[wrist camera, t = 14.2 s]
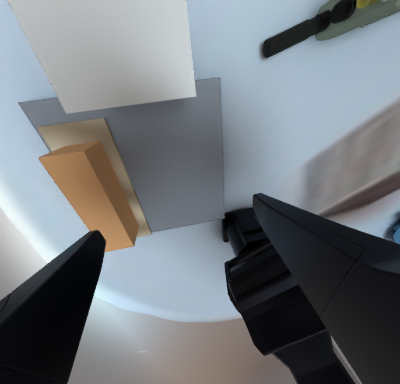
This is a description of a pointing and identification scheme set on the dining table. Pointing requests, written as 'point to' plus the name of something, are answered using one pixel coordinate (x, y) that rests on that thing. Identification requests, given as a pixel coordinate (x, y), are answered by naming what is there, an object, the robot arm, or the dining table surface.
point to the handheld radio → (332, 22)
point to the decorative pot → (397, 233)
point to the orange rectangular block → (93, 191)
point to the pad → (101, 132)
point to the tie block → (110, 50)
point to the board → (162, 152)
